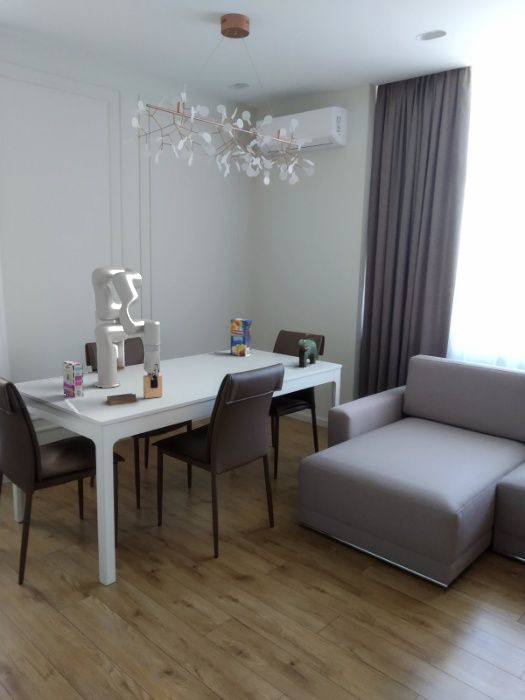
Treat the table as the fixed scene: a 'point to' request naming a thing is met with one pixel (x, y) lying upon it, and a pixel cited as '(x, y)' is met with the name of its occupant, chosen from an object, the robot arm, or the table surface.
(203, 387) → the table surface
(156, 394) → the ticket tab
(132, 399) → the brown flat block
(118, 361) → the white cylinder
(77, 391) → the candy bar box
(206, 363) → the table surface
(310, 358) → the green elephant figurine
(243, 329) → the juice carton
